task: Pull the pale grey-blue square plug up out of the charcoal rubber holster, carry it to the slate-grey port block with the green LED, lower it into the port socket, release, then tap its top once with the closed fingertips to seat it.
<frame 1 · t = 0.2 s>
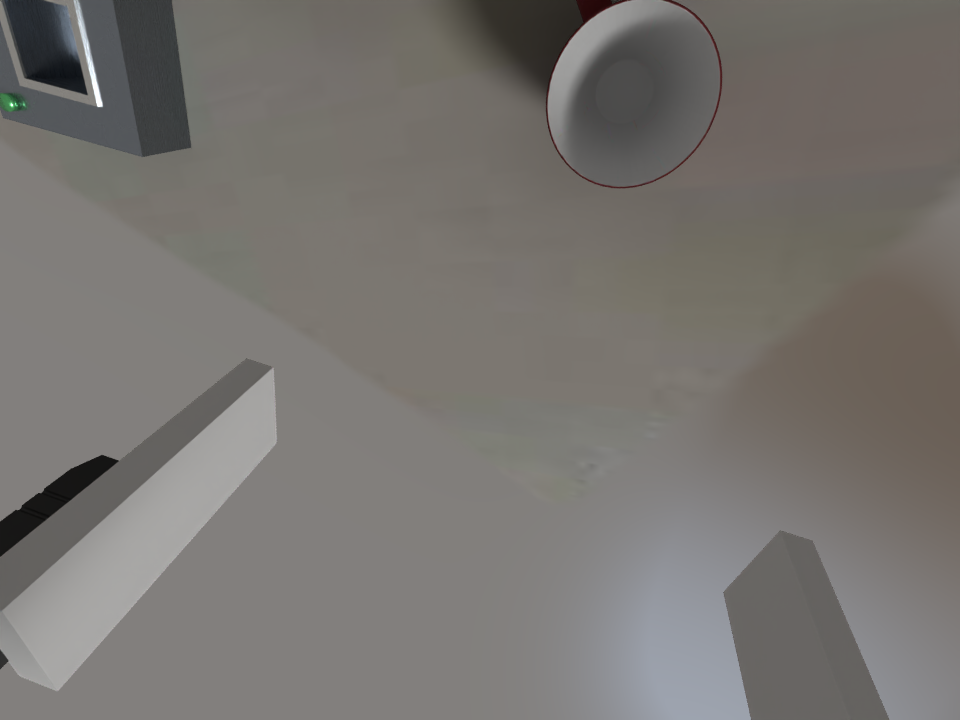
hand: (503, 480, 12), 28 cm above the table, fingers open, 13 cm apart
mug: (614, 74, 31), on the table
port: (110, 46, 37), on the table
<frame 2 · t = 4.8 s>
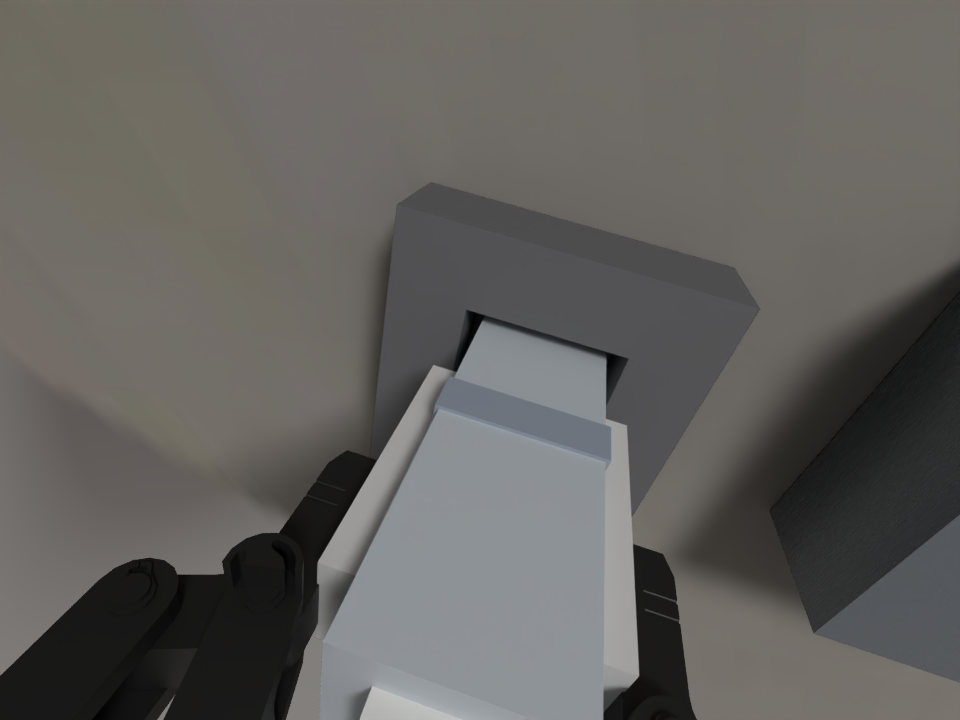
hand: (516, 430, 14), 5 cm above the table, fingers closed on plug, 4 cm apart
holster: (536, 351, 18), on the table
plug: (534, 358, 17), resting on holster, touching gripper
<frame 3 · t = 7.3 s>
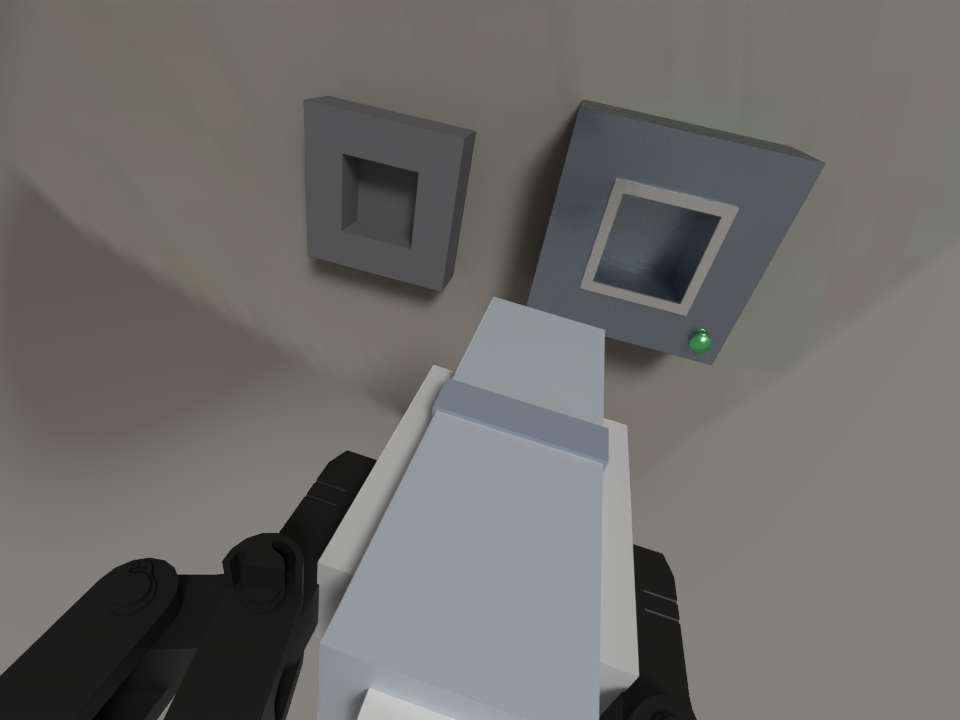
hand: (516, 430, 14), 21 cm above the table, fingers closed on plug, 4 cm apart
holster: (394, 192, 33), on the table
port: (646, 224, 31), on the table
plug: (533, 359, 17), point 17 cm above the table, touching gripper
when the fingers open (7 cm above the table, at t = 9.8 s): plug drops 2 cm, resting on port.
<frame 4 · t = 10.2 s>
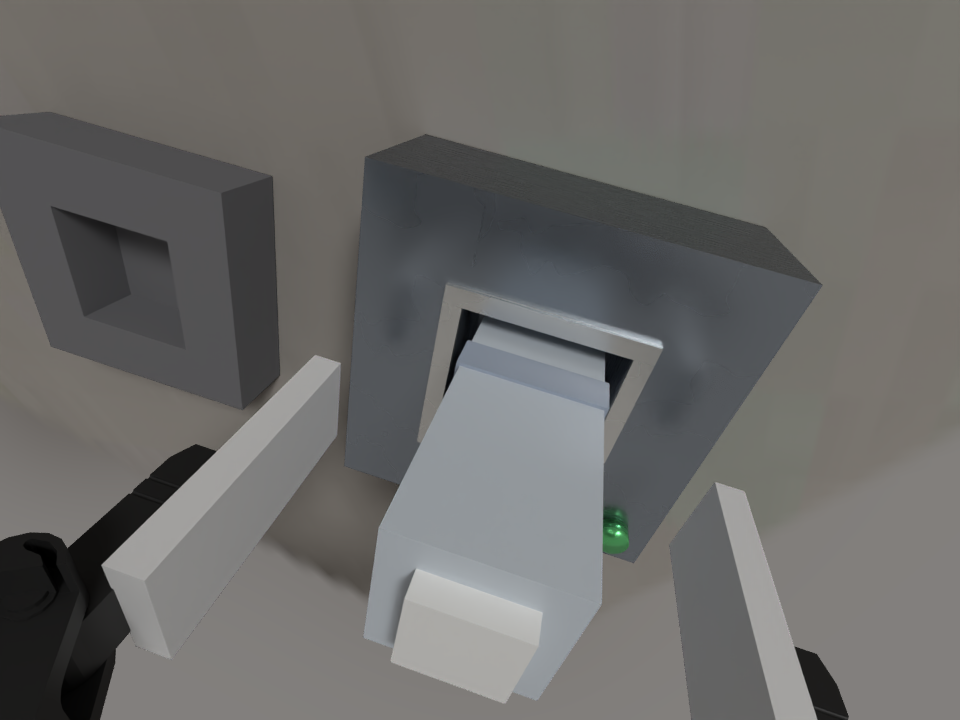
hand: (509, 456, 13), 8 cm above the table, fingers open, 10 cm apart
holster: (177, 257, 22), on the table
port: (542, 327, 20), on the table
plug: (540, 334, 19), resting on port
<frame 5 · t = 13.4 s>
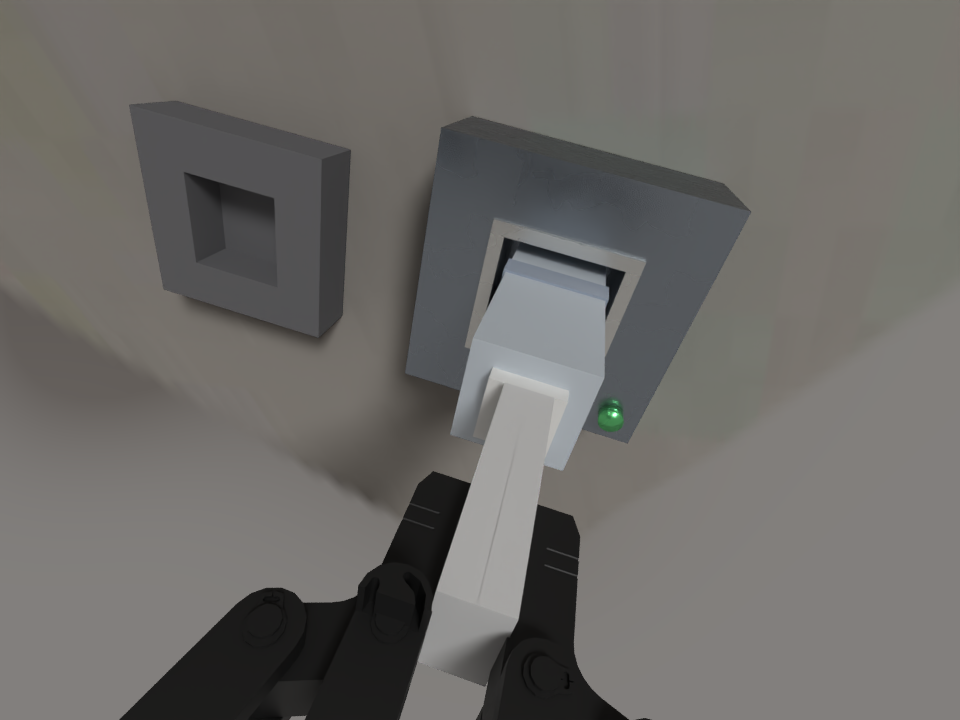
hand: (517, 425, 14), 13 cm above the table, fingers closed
holster: (266, 217, 28), on the table
port: (557, 267, 25), on the table
plug: (555, 271, 25), resting on port, touching gripper
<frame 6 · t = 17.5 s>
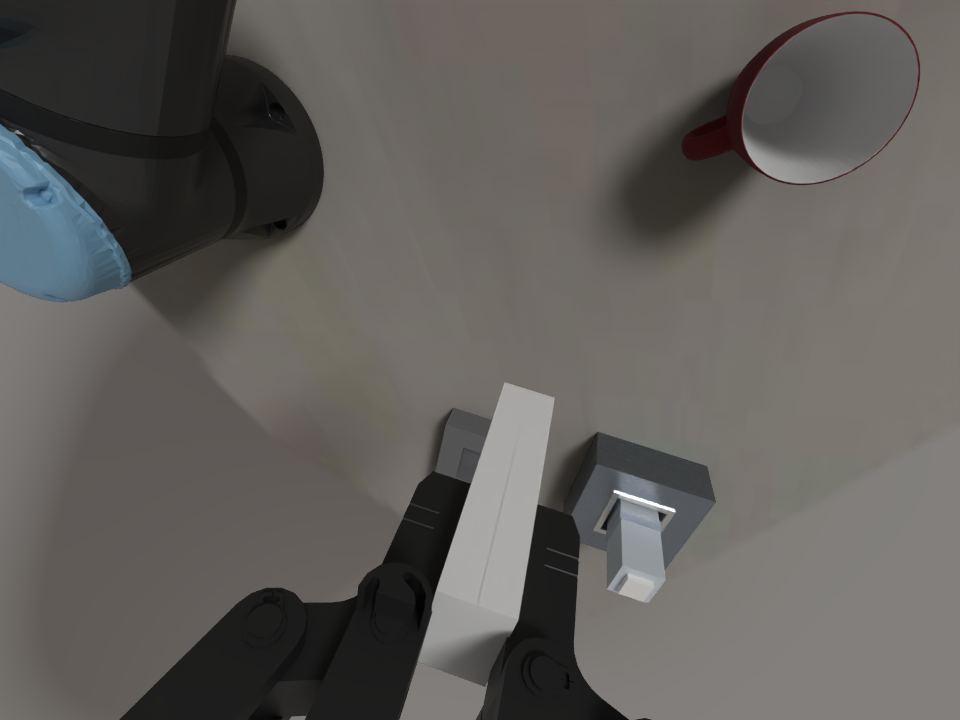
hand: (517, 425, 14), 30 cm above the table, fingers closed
holster: (485, 452, 57), on the table
mug: (751, 106, 34), on the table
port: (630, 485, 54), on the table
plug: (630, 489, 54), resting on port
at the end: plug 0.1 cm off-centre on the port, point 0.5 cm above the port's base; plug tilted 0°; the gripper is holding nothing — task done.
